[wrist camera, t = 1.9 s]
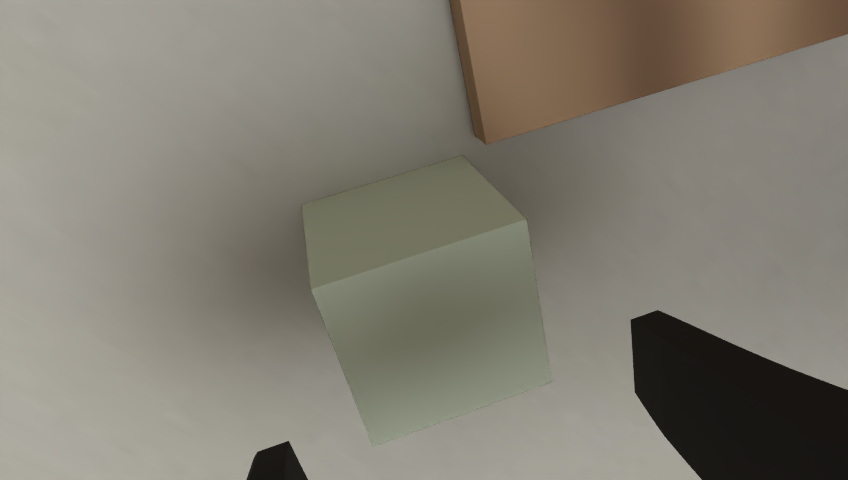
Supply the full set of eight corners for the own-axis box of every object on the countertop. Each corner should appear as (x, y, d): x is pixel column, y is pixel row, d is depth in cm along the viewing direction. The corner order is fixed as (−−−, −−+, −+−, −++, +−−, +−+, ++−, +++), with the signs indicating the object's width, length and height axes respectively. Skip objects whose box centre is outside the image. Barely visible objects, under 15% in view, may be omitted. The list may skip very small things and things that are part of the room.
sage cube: (461, 154, 17) (526, 219, 12) (489, 288, 19) (552, 381, 15) (301, 203, 16) (310, 289, 12) (350, 335, 19) (372, 446, 14)
